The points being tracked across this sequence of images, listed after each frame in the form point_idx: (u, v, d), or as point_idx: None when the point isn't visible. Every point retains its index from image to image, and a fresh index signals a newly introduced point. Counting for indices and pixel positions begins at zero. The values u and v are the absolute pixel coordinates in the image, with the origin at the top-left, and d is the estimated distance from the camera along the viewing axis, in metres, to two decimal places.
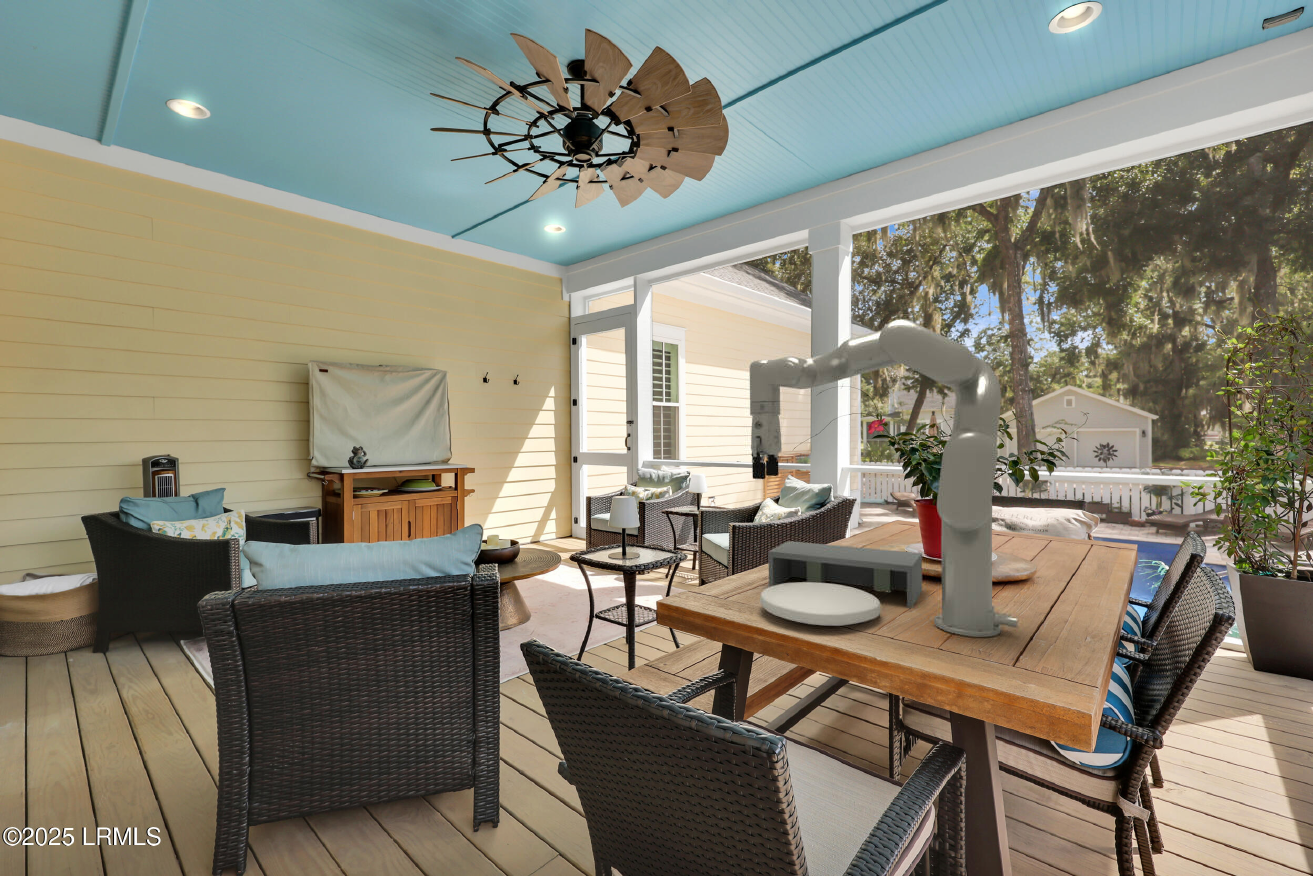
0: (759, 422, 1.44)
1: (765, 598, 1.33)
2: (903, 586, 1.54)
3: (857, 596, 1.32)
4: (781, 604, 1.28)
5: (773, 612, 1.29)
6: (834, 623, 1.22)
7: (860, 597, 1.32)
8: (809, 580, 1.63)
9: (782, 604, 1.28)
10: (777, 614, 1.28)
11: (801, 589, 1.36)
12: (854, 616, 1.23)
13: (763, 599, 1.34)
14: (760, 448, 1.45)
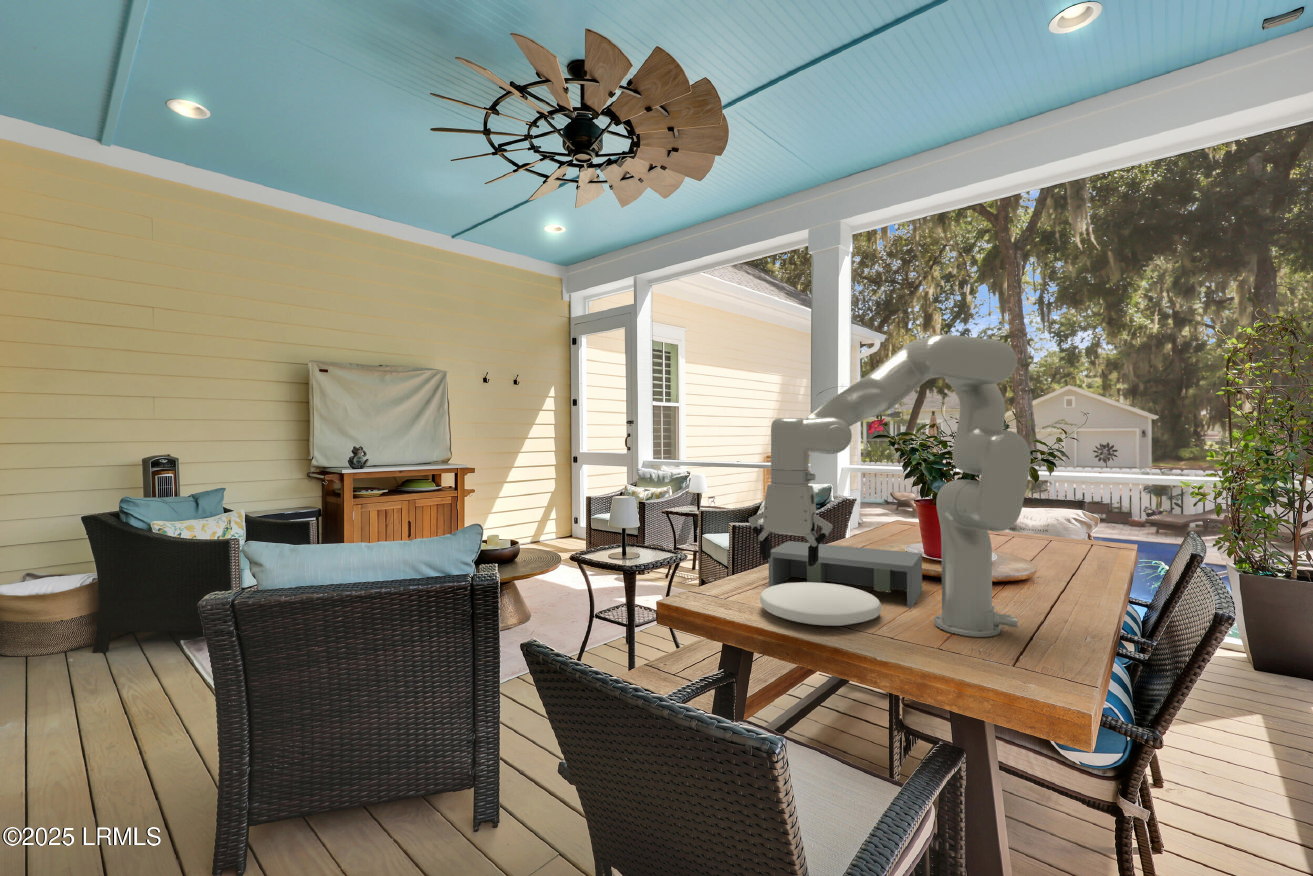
0: None
1: (765, 598, 1.33)
2: (903, 586, 1.54)
3: (857, 596, 1.32)
4: (781, 604, 1.28)
5: (773, 612, 1.29)
6: (834, 623, 1.22)
7: (860, 597, 1.32)
8: (809, 580, 1.63)
9: (782, 604, 1.28)
10: (777, 614, 1.28)
11: (801, 589, 1.36)
12: (854, 616, 1.23)
13: (763, 599, 1.34)
14: None
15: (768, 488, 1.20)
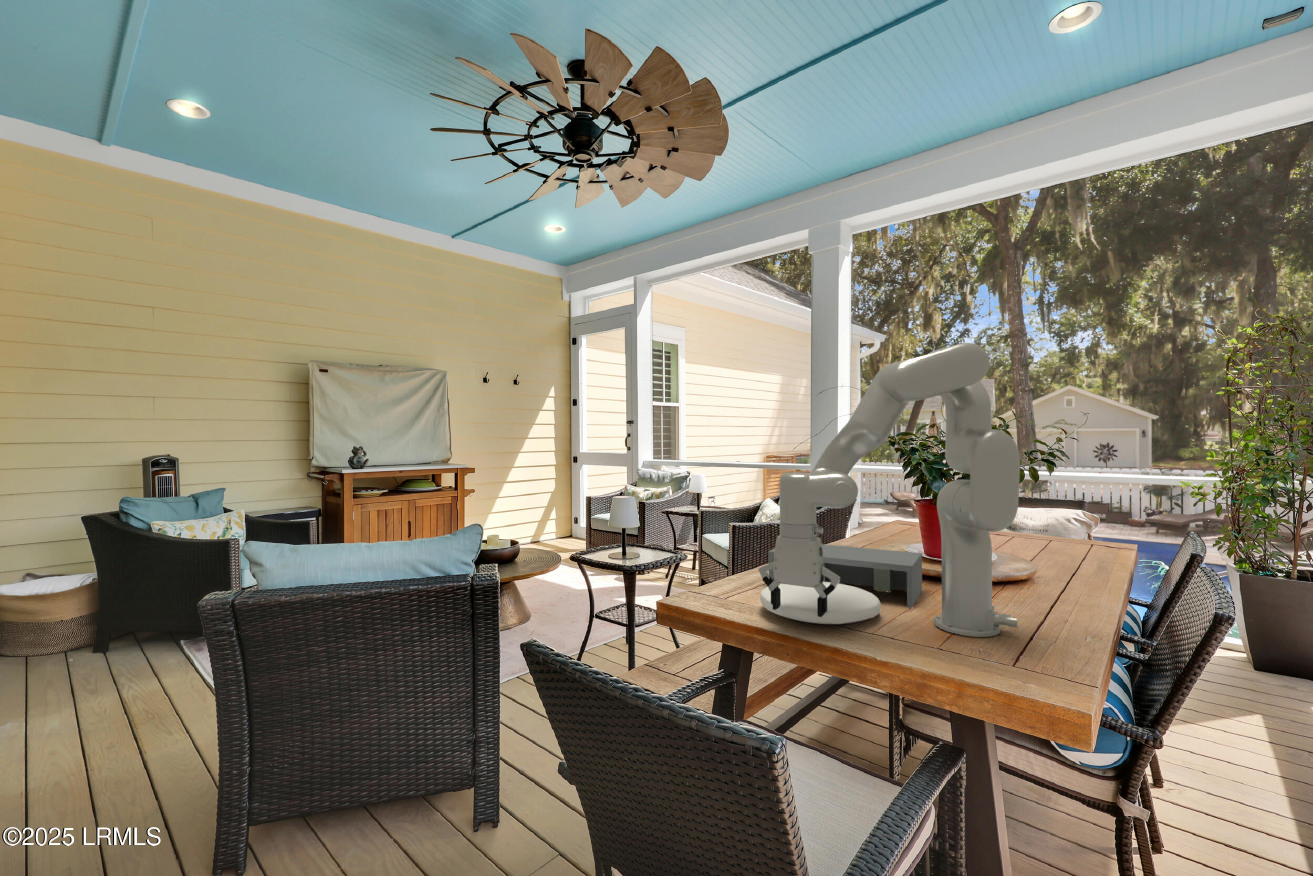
0: None
1: (765, 596, 1.34)
2: (903, 586, 1.54)
3: (857, 595, 1.32)
4: (781, 602, 1.29)
5: (773, 610, 1.30)
6: (833, 621, 1.23)
7: (860, 596, 1.32)
8: None
9: (782, 602, 1.29)
10: (777, 612, 1.29)
11: (801, 588, 1.36)
12: (853, 614, 1.24)
13: (763, 598, 1.34)
14: None
15: (777, 541, 1.24)
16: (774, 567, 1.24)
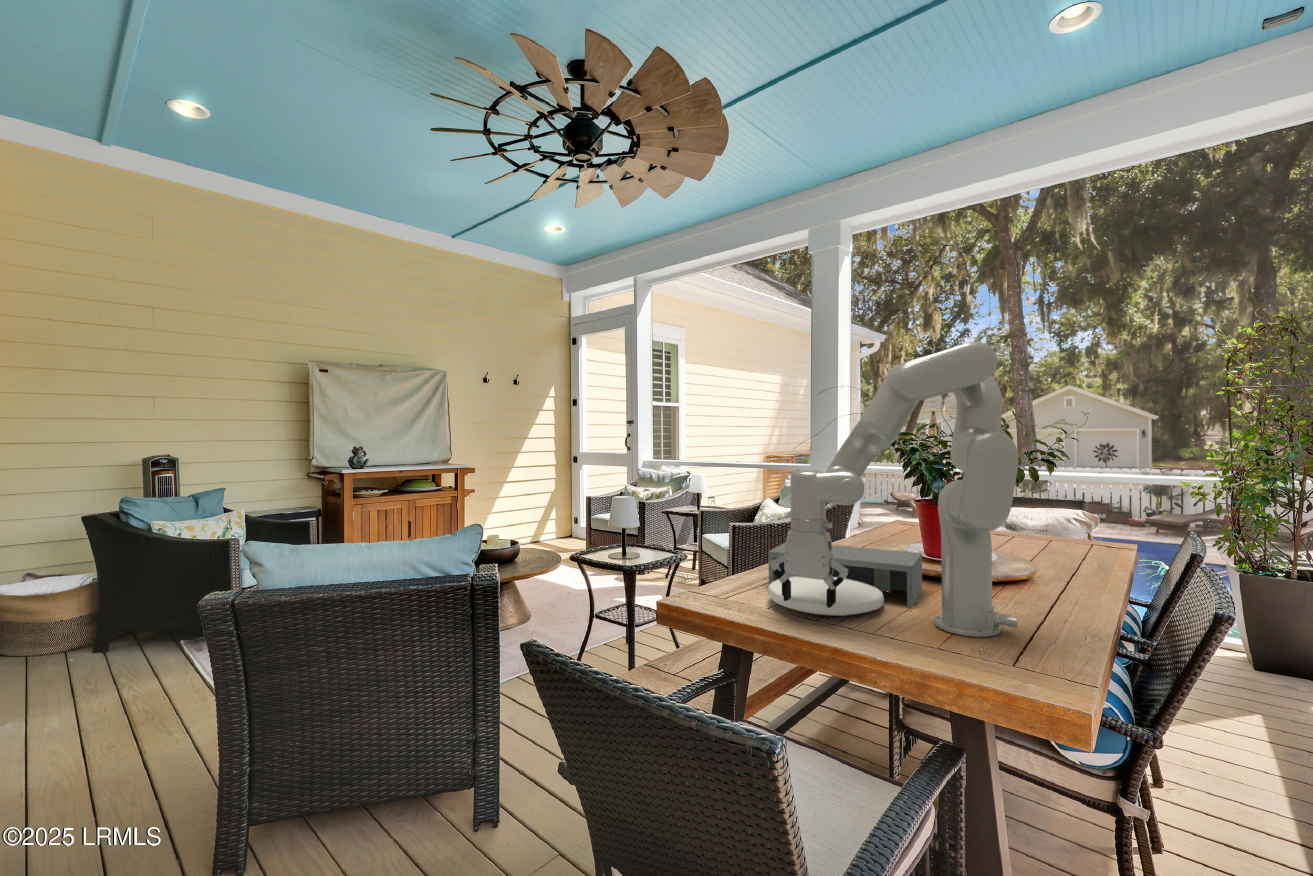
0: None
1: (773, 590, 1.40)
2: (903, 586, 1.54)
3: (861, 588, 1.38)
4: None
5: (780, 603, 1.36)
6: (838, 613, 1.29)
7: (864, 589, 1.38)
8: None
9: None
10: (784, 604, 1.35)
11: (807, 581, 1.43)
12: (857, 606, 1.30)
13: (771, 591, 1.40)
14: None
15: (788, 535, 1.30)
16: (785, 560, 1.30)
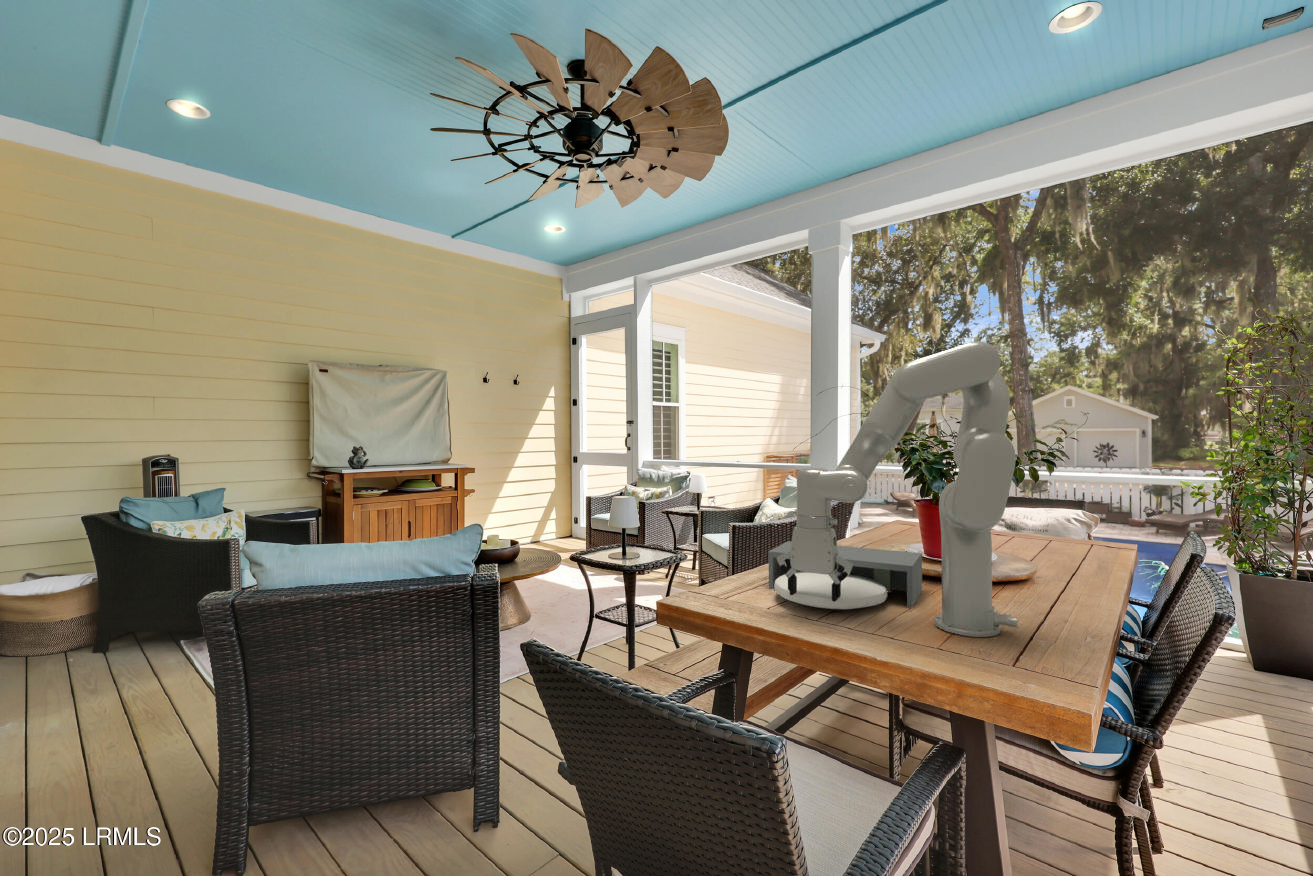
0: None
1: (779, 584, 1.44)
2: (903, 586, 1.54)
3: (865, 583, 1.42)
4: None
5: (786, 597, 1.40)
6: (842, 607, 1.32)
7: (867, 584, 1.41)
8: None
9: None
10: (789, 598, 1.39)
11: (813, 576, 1.46)
12: (861, 600, 1.33)
13: (777, 585, 1.44)
14: None
15: (795, 531, 1.34)
16: (791, 556, 1.34)
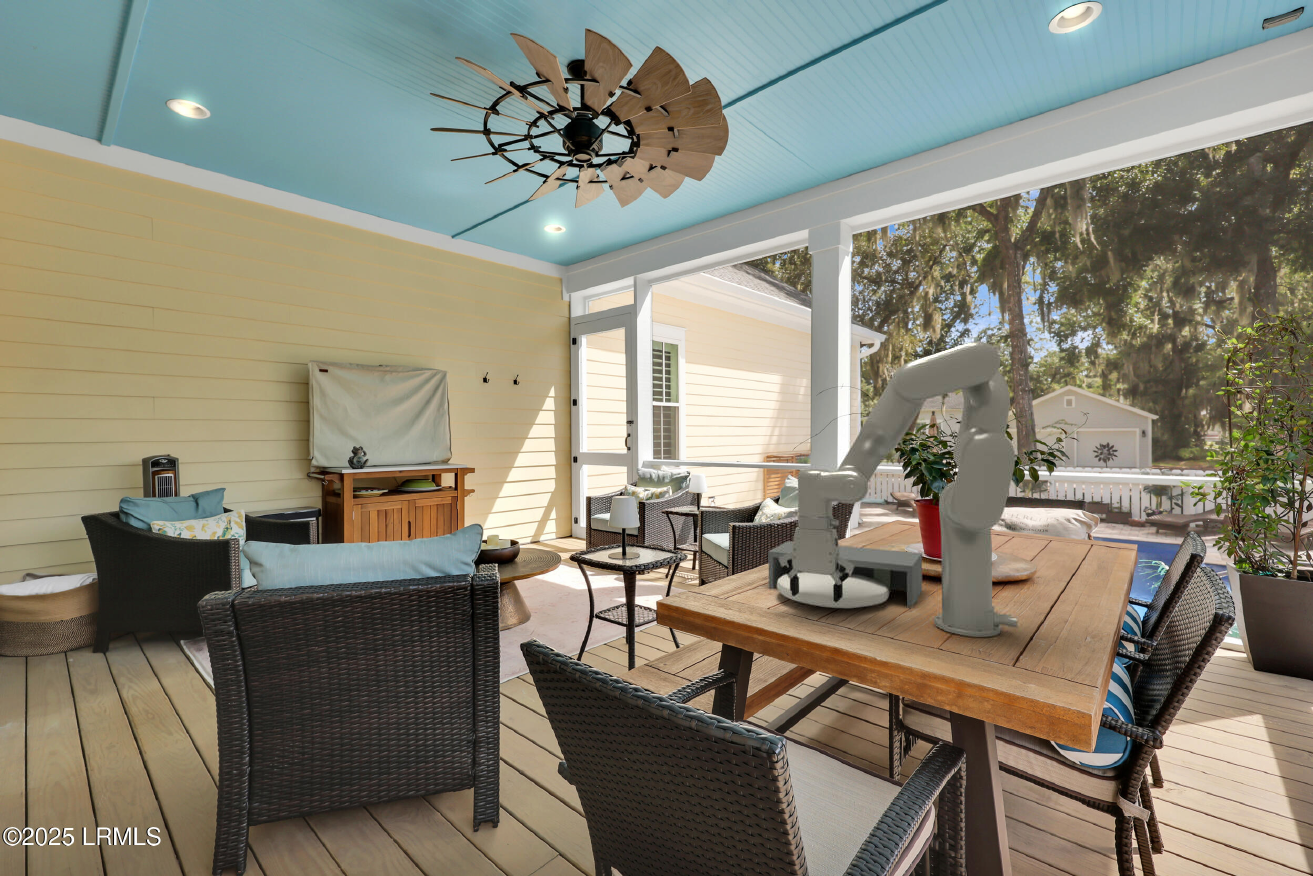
0: None
1: (781, 583, 1.45)
2: (903, 586, 1.54)
3: (867, 582, 1.43)
4: None
5: (789, 596, 1.41)
6: (844, 606, 1.34)
7: (869, 583, 1.43)
8: None
9: None
10: (792, 598, 1.40)
11: (815, 576, 1.48)
12: (863, 599, 1.35)
13: (779, 584, 1.46)
14: None
15: (796, 532, 1.34)
16: (793, 556, 1.35)
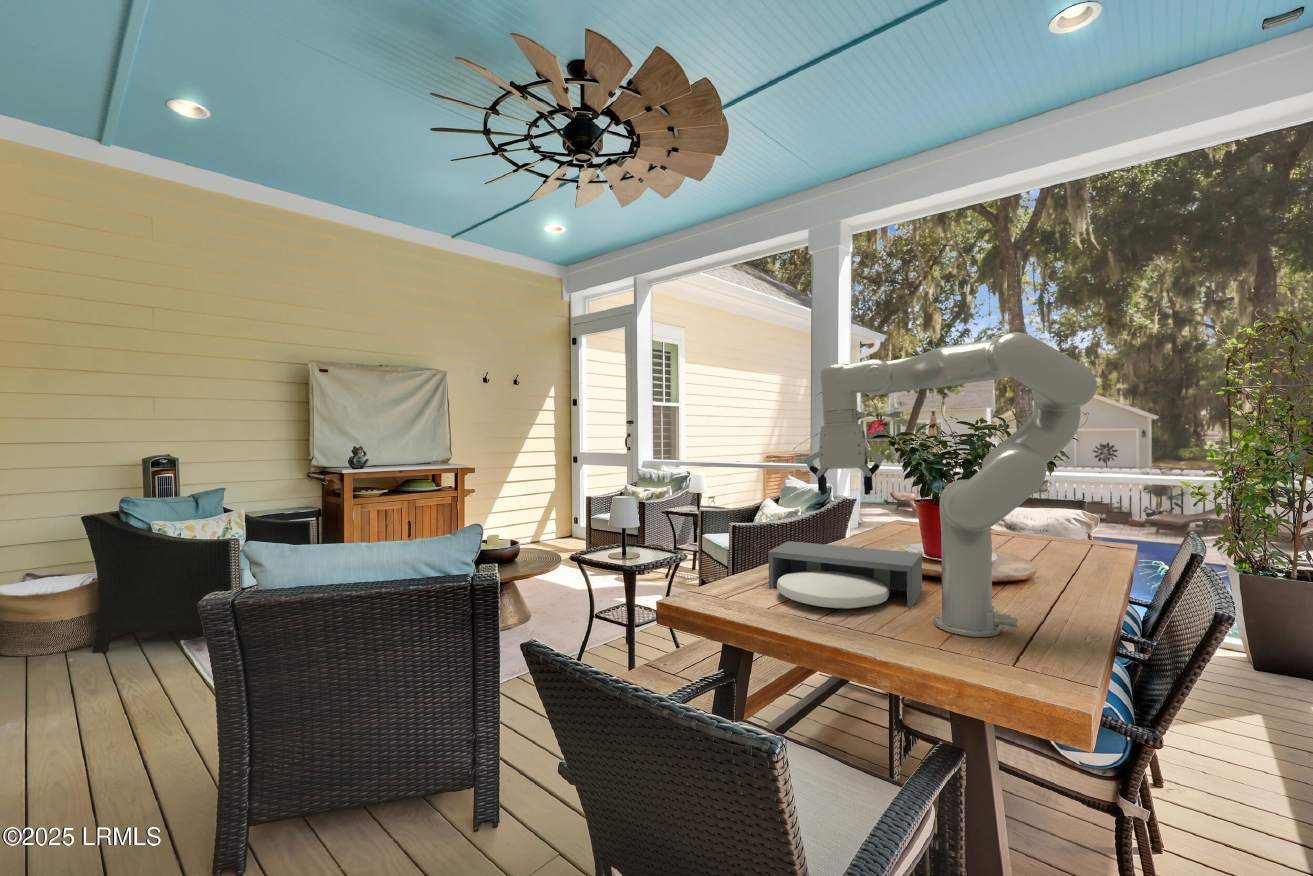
0: None
1: (782, 584, 1.45)
2: (903, 586, 1.54)
3: (867, 582, 1.43)
4: (796, 588, 1.40)
5: (789, 596, 1.41)
6: (844, 606, 1.34)
7: (869, 583, 1.43)
8: None
9: (797, 588, 1.40)
10: (792, 598, 1.40)
11: (815, 576, 1.48)
12: (863, 599, 1.35)
13: (780, 584, 1.46)
14: None
15: (822, 429, 1.33)
16: (820, 454, 1.33)
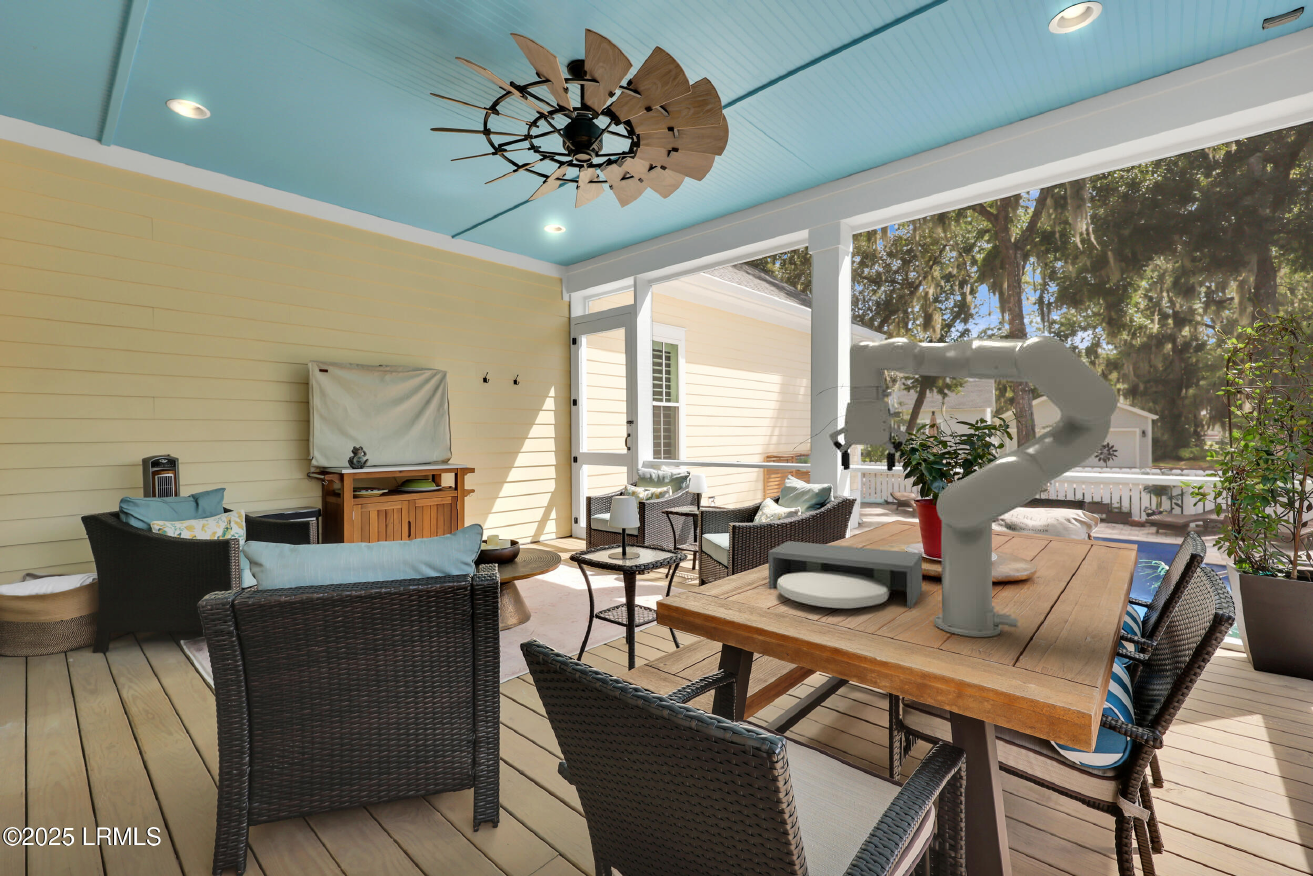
0: None
1: (782, 584, 1.45)
2: (903, 586, 1.54)
3: (867, 582, 1.43)
4: (796, 588, 1.40)
5: (789, 596, 1.41)
6: (844, 606, 1.34)
7: (869, 583, 1.43)
8: None
9: (797, 588, 1.40)
10: (792, 598, 1.40)
11: (815, 576, 1.48)
12: (863, 599, 1.35)
13: (780, 585, 1.46)
14: None
15: (848, 405, 1.35)
16: (845, 430, 1.36)
